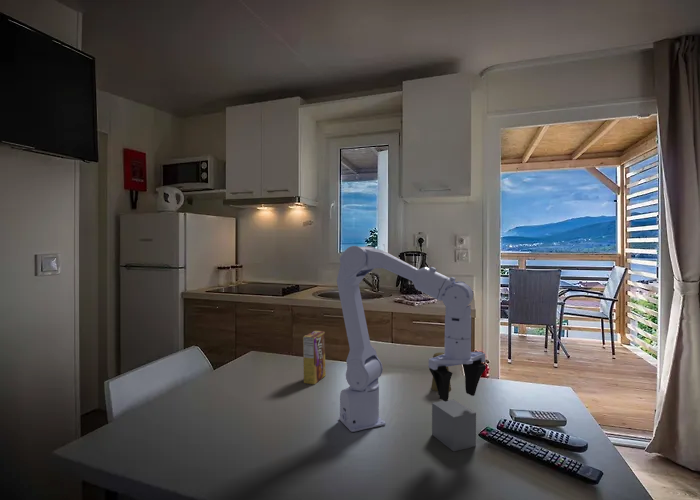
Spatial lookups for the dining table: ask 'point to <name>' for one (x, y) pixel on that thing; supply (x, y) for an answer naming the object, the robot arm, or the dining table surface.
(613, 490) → the dining table surface
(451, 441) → the dark gray square block
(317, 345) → the candy box
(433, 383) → the cork
